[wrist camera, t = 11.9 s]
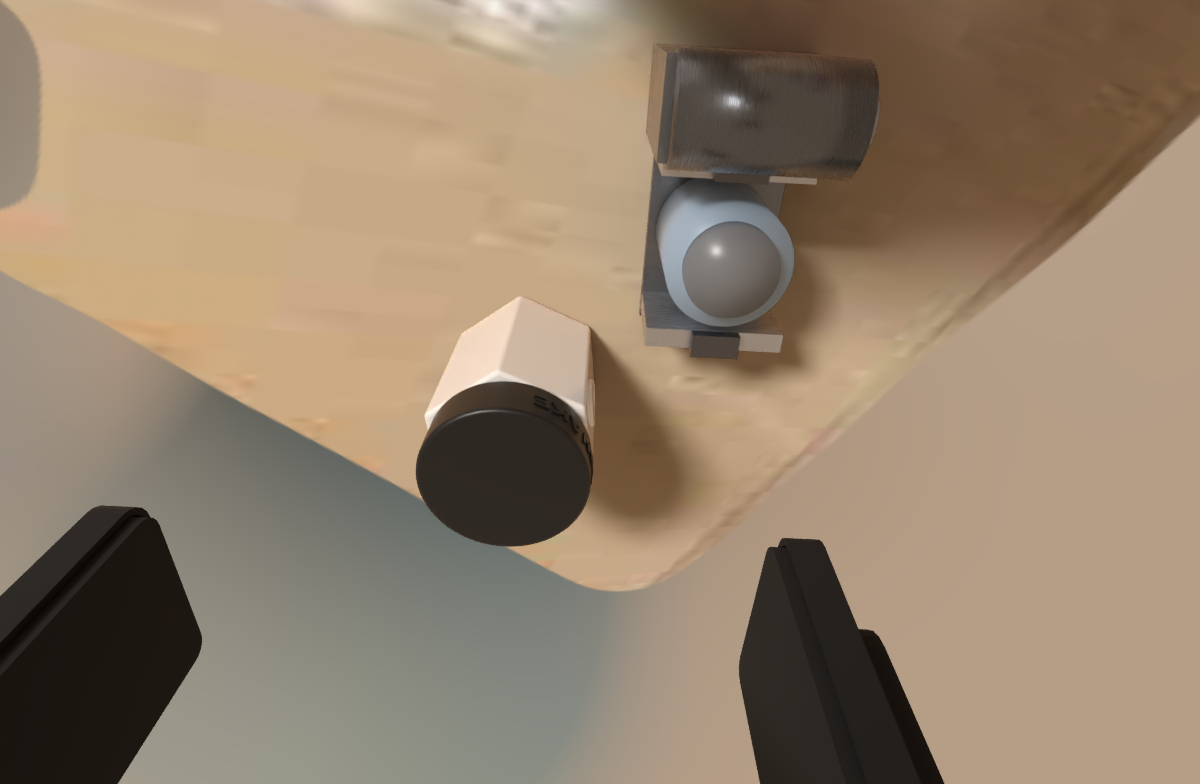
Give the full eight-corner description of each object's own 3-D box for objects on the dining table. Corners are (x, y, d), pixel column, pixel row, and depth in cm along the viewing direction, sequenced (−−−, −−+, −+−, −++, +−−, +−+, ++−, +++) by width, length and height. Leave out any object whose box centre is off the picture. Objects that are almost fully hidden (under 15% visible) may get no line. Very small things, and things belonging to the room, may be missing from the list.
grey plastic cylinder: (662, 169, 34) (674, 203, 28) (776, 177, 34) (812, 212, 28) (650, 279, 37) (659, 329, 31) (755, 285, 37) (783, 337, 31)
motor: (766, 318, 38) (814, 409, 30) (631, 311, 38) (638, 400, 30) (821, 49, 31) (904, 64, 23) (653, 39, 31) (672, 49, 22)
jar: (600, 419, 42) (598, 551, 32) (476, 425, 43) (435, 558, 32) (590, 290, 38) (584, 395, 27) (452, 298, 38) (395, 405, 28)
